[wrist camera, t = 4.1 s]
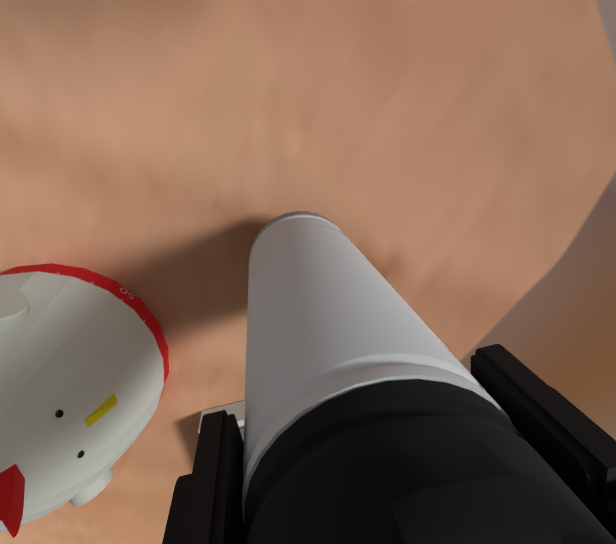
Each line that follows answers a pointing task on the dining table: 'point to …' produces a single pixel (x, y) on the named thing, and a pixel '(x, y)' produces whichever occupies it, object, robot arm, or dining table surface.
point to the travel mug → (375, 416)
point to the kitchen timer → (70, 385)
